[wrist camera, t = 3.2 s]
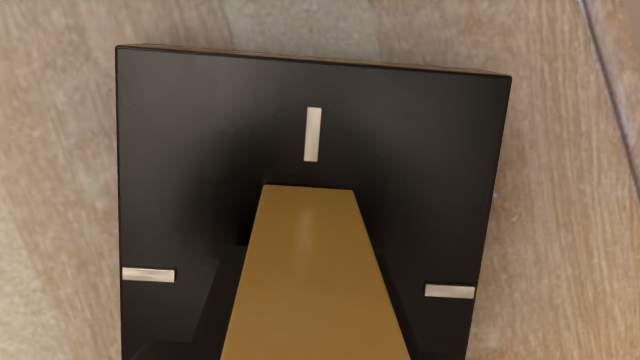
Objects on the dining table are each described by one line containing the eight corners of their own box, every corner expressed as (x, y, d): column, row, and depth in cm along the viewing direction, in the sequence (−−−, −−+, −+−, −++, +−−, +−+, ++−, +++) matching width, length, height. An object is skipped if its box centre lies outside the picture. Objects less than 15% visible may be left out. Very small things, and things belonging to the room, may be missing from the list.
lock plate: (142, 43, 15) (110, 44, 13) (481, 69, 16) (516, 76, 13) (145, 399, 18) (120, 457, 16) (429, 410, 19) (449, 469, 16)
